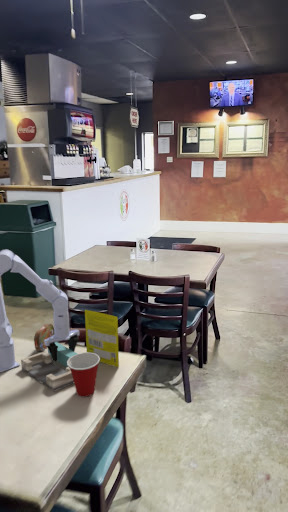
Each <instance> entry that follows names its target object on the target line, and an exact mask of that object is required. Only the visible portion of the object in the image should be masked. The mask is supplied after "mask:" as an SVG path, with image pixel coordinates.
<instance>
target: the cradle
mask: <svg viewBox="0 0 288 512" xmlns="http://www.w3.org/2000/svg"><path fill="white" fill-rule="evenodd" d="M20 363H21V365H20V366H21V370H22V371H24V372H25V373H26V374H28V375H29V376H31V377H32V378H33V379H35V380H37V381H38V382H40V383H41V384H43V385H44V386H46V387H47V388H49V389H50V390H52V391H53V392H57V391H58V390H60V389H63V388H65V387H67V386H70V385H72V384H74V381H73V376H72V372H71V370H70V368H69V367H65V369H63V368H62V367H60V366H59V365H57V364H55V363H54V362H52V358H51V355H50V354H49V353H48V351H46V350H45V351H40V352H38V353H36V354H33V355H30V356H27V357H24V358H21V359H20Z"/></svg>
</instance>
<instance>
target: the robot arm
mask: <svg viewBox="0 0 288 512" xmlns="http://www.w3.org/2000/svg"><path fill="white" fill-rule="evenodd" d="M8 271H10V273H18V274H20V275H22V277H24V278H25V279H27V280H28V281H29V282H30V283H31V284H33V285H34V286H35V290H36V292H37V293H38V294H39V295H40V296H42V298H44V299H45V300H46V301H47V302H49V303H51V306H52V309H53V314H52V315H53V316H52V317H53V327H54V335H53V336H51V337H49V338H48V339H45V340H44V345H46V346H47V348H46V349H47V350H48V349H49V351H50V353H51V356H52V358H51V360H52V361H54V362H57V349H58V346H56V344H55V342H58V343H59V342H61V341H67V344H68V345H67V346H68V349H70V350H72V351H74V352H76V347H77V345H78V342H79V340H80V338H79V336H80V330H79V329H77V328H76V329H71V330H70V317H69V316H70V314H69V308H68V307H69V298H68V295H67V294H66V293H65V292H64V291H63V290H62V289H58V288H57V287H56V286H55V285H54V281H52V280H51V279H50V280H49V279H48V278H47V279H46V278H45V279H44V278H41V277H40V276H39V275H38V274H37V273H36V272H35V271H34V270H33V269H32V268H31V267H30V266H29V265H28V264H27V263H26V262H25V261H24V260H23V259H21V257H20V256H18V255H17V254H15V253H14V252H13V251H12V250H9V249H5V248H4V249H2V250H0V277H1V276H2V275H3V274H4V273H6V272H8ZM13 333H14V328H13V326H12V325H11V323H10V319H9V318H8V316H7V312H6V306H5V300H4V294H3V289H2V284H1V282H0V373H2V372H6V371H9V370H12V369H14V368H16V367H19V366H21V365H20V363H19V362H17V361H16V356H15V345H14V344H15V343H14V340H13V338H12V336H13Z"/></svg>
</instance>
